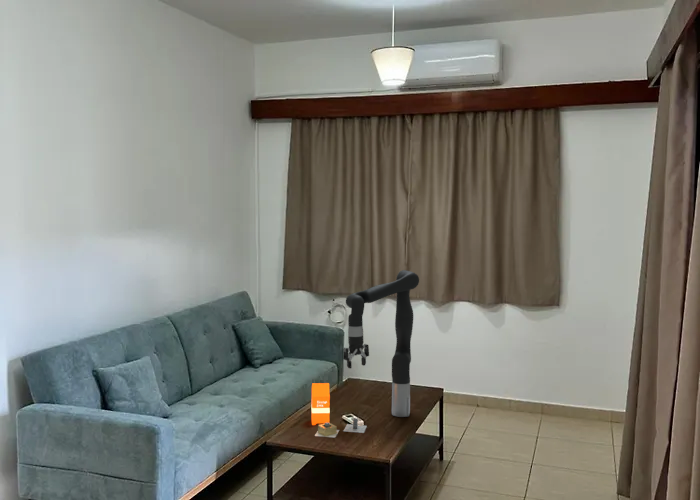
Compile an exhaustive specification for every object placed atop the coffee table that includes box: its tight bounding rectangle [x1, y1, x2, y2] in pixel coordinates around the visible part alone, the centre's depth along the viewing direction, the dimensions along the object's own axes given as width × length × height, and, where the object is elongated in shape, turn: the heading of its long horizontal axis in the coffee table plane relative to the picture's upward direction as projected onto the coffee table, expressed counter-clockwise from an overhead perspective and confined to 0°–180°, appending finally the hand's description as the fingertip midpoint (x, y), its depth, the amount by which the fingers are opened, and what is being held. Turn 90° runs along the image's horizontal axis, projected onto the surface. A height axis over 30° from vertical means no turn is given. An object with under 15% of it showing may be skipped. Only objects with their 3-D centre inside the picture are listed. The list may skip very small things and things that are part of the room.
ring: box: [317, 422, 338, 436], centre depth 315 cm, size 6×6×4 cm
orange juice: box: [310, 382, 331, 426], centre depth 331 cm, size 8×9×20 cm
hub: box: [314, 422, 340, 438], centre depth 315 cm, size 10×10×6 cm
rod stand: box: [343, 418, 368, 434], centre depth 321 cm, size 10×10×5 cm
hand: (356, 366), depth 330 cm, fingers open, 8 cm apart
